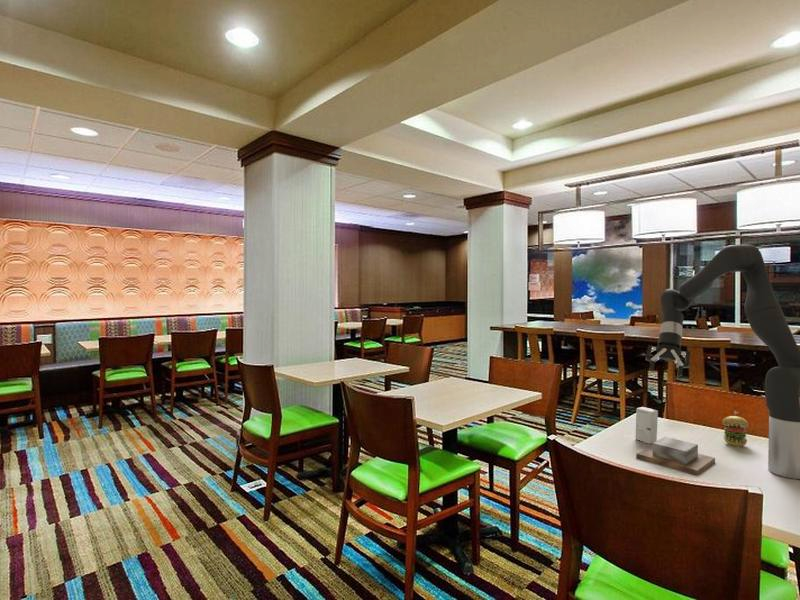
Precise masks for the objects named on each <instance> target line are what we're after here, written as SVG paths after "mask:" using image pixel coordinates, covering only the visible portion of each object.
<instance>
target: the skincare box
mask: <svg viewBox="0 0 800 600" xmlns="http://www.w3.org/2000/svg"><path fill="white" fill-rule="evenodd" d="M658 415H659V410H656V409H653V408H649V407H645V406H641V407H637V408H636V414H635V435H634V438H635V440H636V439H637V440H636V441H639V440H640V441H639V442H642V441H643V443H646V444H648V445H649V444H650V445H652V444H653V443H654V442H656V441H658V439H657V438H658ZM651 443H652V444H651Z"/></svg>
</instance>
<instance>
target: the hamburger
mask: <svg viewBox="0 0 800 600" xmlns="http://www.w3.org/2000/svg"><path fill="white" fill-rule="evenodd" d="M733 414H734V415H729V416H726V417H724V418H723V419H722V425H723V426H725V427H724V428H723V430H724V431H723V434H724V435H723V439H724V441H725V442H726V443H727V444H729V445H731V446H733V447H737V446H740V447H744V446H745V445H746V444H747V443H748V439H747V434H748V432H747V430H746V428H748V427H749V422H748V420H746V419H745V418H743V417H741V416H738V415H737V414H739V411H736V410H733ZM736 415H737V416H736Z"/></svg>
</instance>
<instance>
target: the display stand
mask: <svg viewBox="0 0 800 600" xmlns="http://www.w3.org/2000/svg"><path fill="white" fill-rule="evenodd" d="M638 458H640V459H639V460H642V459H643V460H642V461H645V460H646V462H650V463H653V464H657V465H660V466H664V467H667V468H670V469H674V470H678V471H681V472H684V473H688V474H691V475H695V476H698V475H700V474H701V473H702V472H704V471H705V470H707V469H708V468H709V467H711V466H712V465H713V464H715V463H716V457H713V456H710V455H705V454H701V453H699V444H698V443H692V442H689V441H685V440H681V439H676V438H672V437H668V436H664V437H661V438H659V439H657V441H656V442H654V443H652V444H650V446H648V447H646V448H644V449H642V450H640V451H638V452H637V453H636V459H638Z"/></svg>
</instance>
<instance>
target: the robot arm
mask: <svg viewBox="0 0 800 600" xmlns="http://www.w3.org/2000/svg"><path fill="white" fill-rule="evenodd" d="M737 272H738V273H741V274H742V276H743V278H744V281H745V283H746V287H747V289H746V290H747V292H746V297H745V301H744V309H743V310H744V313H745V316H746V319H747V322H748V325H749V327H750V329H751V330H752V332H753V333H754V334H755V335H756V336H757V337H758V339H760V340H761V342H763V344H764V345H765V346H767V348H768V349H769V350H770V351H771V353H772V354H773V356H774V358H775V360H776V362H777V364H778V366H774V367H772V368H770V369H769V370H768V371H767V372H766V374H765V378H764V379H765V380H764V388H765V389H764V391H765V392H764V393H765V405H766V407H767V410H768V451H767V452H768V455H767V457H768V461H767V468H768V471H769V472H771V473H773V474H774V475H777V476H780V477H783V478H784V477H785V478H788V479H795V480H800V348H799V346H798V344H797V341H796V339H795V337H794V335H793V333H792V330H791V329H790V326H789V324H788V321H787V318H786V317H785V316H786V315H785V314H784V311H783V309H782V307H781V305H780V303H779V301H778V298H777V296H776V294H775V291H774V289H773V286H772V283H771V281H770V278H769V274H768V271H767V269H766V264H765V261H764V257H763V255H762V253H761V251H760V249H759V248H758V247H757V246H755V245H753V244H748V243H747V244H743V243H742V244H731V245H726V246H724V247H723V248H722V249H720V250H719V251H718V252H717V253H716V255H714V256H713V257H712V258H711V259H710V260H709V262H707V263H706V264H705V265H704V267H702V268H701V270H700V271H698V272H697V273H696V274H694V275H693V276H691V277H690V278H688V279H687V280H686V281H684V282H683V283H681V284H680V285H679V288H678V290H675V289H673V288H668V289H667V288H666V289H665V290H664V291H662V293H661V294H660V297H659V298H660V299H659V300H660V301H659V302H660V307H661V313H662V321H661V325H660V329H659V333H658V334H659V335H658V341H657V346H653V345H652V344H648V346H647V350H646V353H645V361H647V362H649V371H650V372H651V373H653V372H654V369H655V363H656V362H657V361H659V360H660V359H662V360H664V361H670V362H672V361H674V363H675V365H677V374H676V375H677V376H676V378H680V377H682V376H683V371H684V370H683V369H689V367H690V360H691V359H690V358H691V353H690V352H691V351H689V350H687V351H682V350H681V346H682V339H683V325H684V317H685V316H684V314H683V313H682V312H683V311H687V310H688V309H689V308H690V307H691V305H692V304H693V302H695V300H696V299H697V298H698V297H700V296H701V295H703V294H704V293H706V292H707V291H708V290H709V289H711V288H712V286H713V284H714V283H715V280H716V279H718V278H719V277H721V276H723V275H726V274H728V273H737ZM654 351H655V353H656V354H655V355H654V356H653V357H651V353H652V352H654ZM681 356H682V357H683V358H684V363H683V361H682V360H681V358H680V357H681Z"/></svg>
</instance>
